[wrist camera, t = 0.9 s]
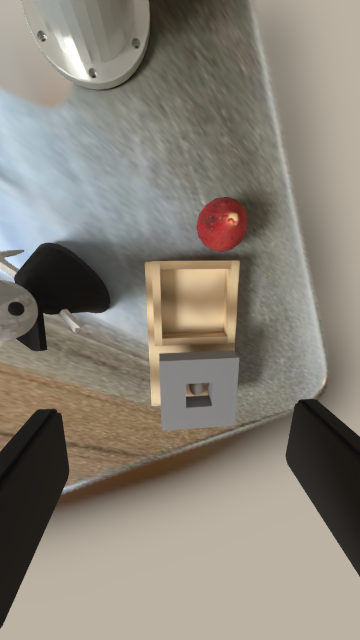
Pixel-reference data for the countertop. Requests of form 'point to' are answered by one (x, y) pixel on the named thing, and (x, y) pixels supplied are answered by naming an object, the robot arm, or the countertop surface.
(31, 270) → the toy
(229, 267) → the wooden tray
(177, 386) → the gray holed slab
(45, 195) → the countertop surface
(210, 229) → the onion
